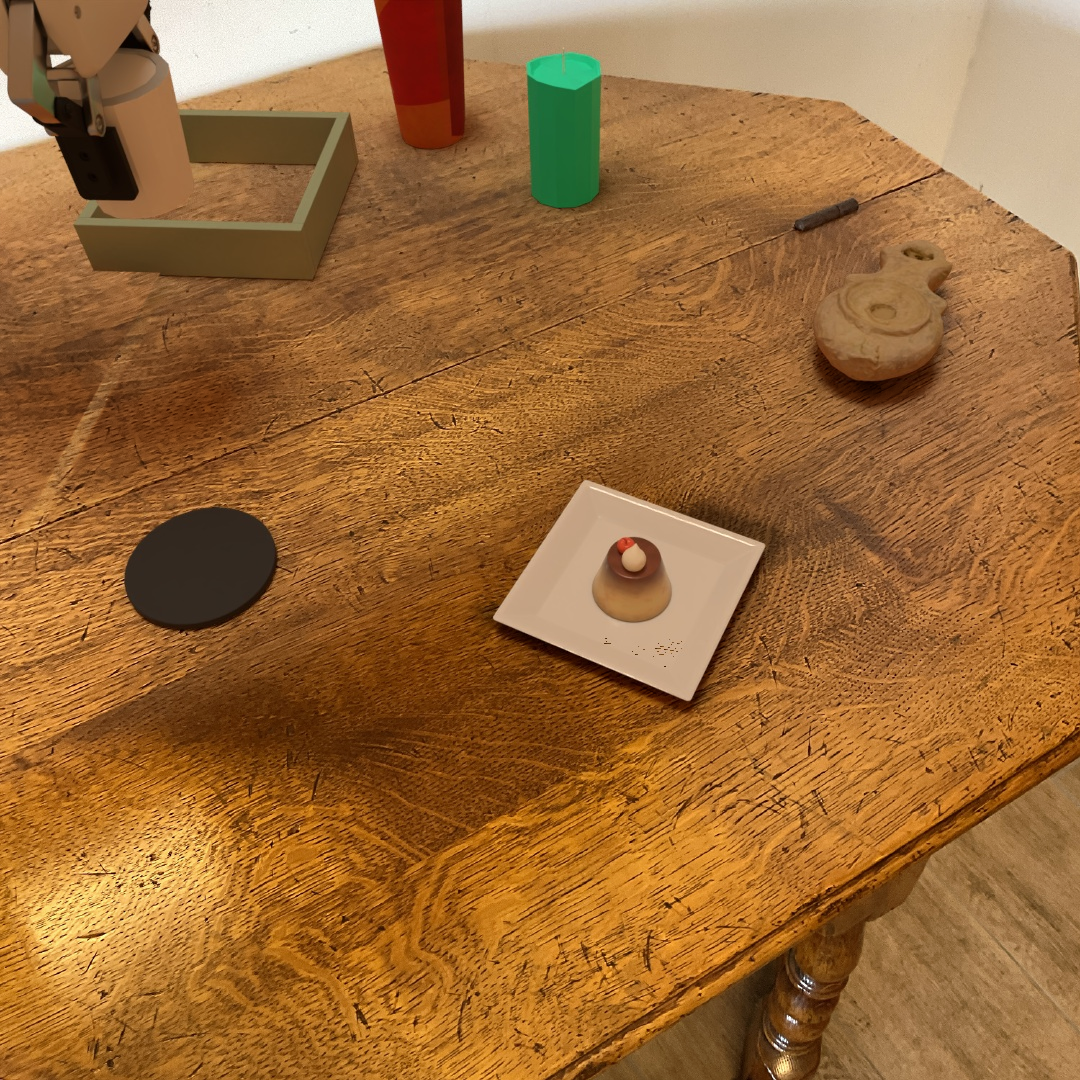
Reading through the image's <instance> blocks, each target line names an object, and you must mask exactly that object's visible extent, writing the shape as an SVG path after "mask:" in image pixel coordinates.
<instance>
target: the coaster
mask: <svg viewBox="0 0 1080 1080" xmlns="http://www.w3.org/2000/svg"><path fill="white" fill-rule="evenodd" d="M277 565H278V549H277V546H276V543H275V540H274V537H273V535H272V533H271V531H270V530H269V529H268V527H267V525H265V524H264V523H263V522H262V521H261V520H260V519H259V518H256V516H255V515H252V514H250V513H248V512H245V511H242V510H241V509H235V508H229V507H217V506H216V507H215V506H214V507H204V508H199V509H193V510H190V511H187V512H183V513H180V514H177V515H176V516H174V517H171V518H169V519H167V520H165V521H164V522H162V523H160V524H159V525H158V526H156V527H155V528H152V530H150V532H149V533H147V534H146V535H145V536H144V537H143V538H142V539H141V540H140V542H139V543H137V545H136V546H135V548H134V549H133V551H132V552H131V555H130V556H129V557H128V560H127V563H126V565H125V570H124V576H123V577H124V578H123V579H124V581H123V584H124V589H125V593H126V596H127V598H128V600H129V602H130V603H131V605H132V607H133V608H134V609H135V611H136V612H137V613H138V614H139V615H140V616H141V617H142V618H144V619H145V620H146V621H149V622H150V623H152V624H154V625H157V626H159V627H164V628H167V629H172V630H180V631H181V630H183V631H184V630H185V631H187V630H191V631H192V630H199V629H205V628H209V627H212V626H216V625H219V624H222V623H224V622H226V621H227V622H228V621H229V620H231V619H233V618H235V617H237V616H239V615H241V614H242V613H243V612H245V611H247V609H249V608H250V607H251V606H252V605H254V604H255V603H256V602H257V601H258V600H259V599H260V598H261V597H262V596H263V595H264V593H265V592H266V590H267V589H268V588H269V586H270V585H271V582H272V580H273V578H274V575H275V573H276V570H277Z"/></svg>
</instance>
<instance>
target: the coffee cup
mask: <svg viewBox="0 0 1080 1080" xmlns="http://www.w3.org/2000/svg"><path fill="white" fill-rule="evenodd" d="M373 4H374V9H375V14H376V19H377V23H378V29H379V34H380V38H381V44H382V50H383V54H384V60H385V64H386V68H387V73H388V79H389V83H390V89H391V94H392V98H393V103H394V108H395V113H396V117H397V123H398V127H399V130H400V135H401V138H402V140H403V141H404V142H405V143H406V144H408V145H410V146H412V147H414V148H417V149H425V150H435V149H442V148H446V147H450V146H452V145H454V144H456V143H457V142H459V141H460V140H461V139H462V138H463V137H464V135H465V132H466V98H465V97H466V96H465V95H466V94H465V93H466V91H465V90H466V89H465V58H464V57H465V55H464V52H465V51H464V23H463V19H464V18H463V0H373Z"/></svg>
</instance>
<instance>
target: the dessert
mask: <svg viewBox="0 0 1080 1080" xmlns="http://www.w3.org/2000/svg"><path fill="white" fill-rule="evenodd" d="M765 548H766V544H765V543H764V542H761V541H758V540H755V539H753V538H750V537H748V536H744V535H742V534H738V533H737V532H734V531H730V530H727V529H725V528H722V527H719V526H717V525H714V524H711V523H709V522H705V521H703V520H699V519H697V518H694V517H692V516H689V515H687V514H683V513H680V512H677V511H674V510H672V509H670V508H666V507H664V506H660V505H658V504H655V503H653V502H650V501H647V500H644V499H641V498H639V497H636V496H633V495H631V494H627V493H626V492H625V493H624V492H621V491H619V490H616V489H614V488H611V487H608V486H606V485H602V484H600V483H597V482H594V481H591V480H589V479H584V480H583V481H582V482H581V484H580V486H579V487H578V488H577V490H576V491H575V493H574V495H572V498H571V499H570V500H569V502H568V504H567V505H566V506H565V508H564V509H563V511H562V512H561V514H560V515H559V516H558V518H557V520H556V521H555V523H554V524H553V526H552V527H551V529H550V530H549V532H548V534H547V535H546V536H545V538H544V539H543V541H542V542H541V544H540V545H539V547H538V548H537V550H536V552H534V554H533V556H532V557H531V559H530V560H529V562H528V564H527V565H526V566H525V568H524V569H523V571H522V572H521V574H520V576H519V577H518V578H517V580H516V582H515V583H514V585H513V586H512V587H511V588H510V590H509V592H508V594H507V595H506V597H505V598H504V600H503V601H502V603H500V606H499V607H498V609H497V610H496V612H495V613H494V615H493V616H492V619H493V620H494V621H496V622H498V623H501V624H503V625H505V626H508V627H510V628H513V629H515V630H517V631H519V632H522V633H525V634H527V635H529V636H532V637H534V638H536V639H539V640H541V641H543V642H545V643H548V644H550V645H553V646H556V647H558V648H559V649H563V650H565V651H568V652H570V653H572V654H574V655H576V656H580V657H582V658H584V659H586V660H588V661H591V662H594V663H596V664H597V665H601V666H603V667H605V668H608V669H610V670H613V671H615V672H617V673H619V674H622V675H624V676H626V677H629V678H631V679H634V680H636V681H639V682H641V683H643V684H646V685H648V686H651V687H653V688H655V689H657V690H659V691H662V692H664V693H667V694H669V695H672V696H674V697H676V698H679V699H682V700H684V701H686V702H690V701H691V700H692V699H693V696H694V694H695V692H696V690H697V688H698V687H699V684H700V682H701V680H702V678H703V676H704V674H705V671H706V670H707V668H708V665H709V664H710V662H711V659H712V658H713V655H714V653H715V651H716V649H717V648H718V645H719V643H720V641H721V639H722V636H723V635H724V632H725V631H726V628H727V626H728V624H729V623H730V620H731V618H732V616H733V614H734V612H735V609H736V608H737V606H738V604H739V602H740V599H741V597H742V595H743V593H744V591H745V589H746V587H747V585H748V583H749V581H750V579H751V577H752V576H753V575H752V574H753V572H754V570H755V569H756V566H757V564H758V563H759V561H760V559H761V557H762V554H763V552H764V550H765ZM605 638H607V639H605ZM669 639H670V640H669ZM606 641H607V642H606ZM681 641H682V642H681ZM672 642H674V643H672ZM604 643H611V644H604ZM658 643H659V644H658ZM677 643H680V644H677ZM671 644H672V645H671ZM638 646H639V647H638ZM660 646H664V647H660ZM668 647H670V648H668ZM655 648H661V649H655ZM675 648H676V649H675ZM681 648H682V649H681ZM643 649H645V650H643ZM664 649H668V650H664ZM670 650H674V651H670ZM632 651H633V652H632ZM657 651H659V652H657ZM676 651H678V652H676ZM665 652H666V653H665ZM671 653H672V654H671ZM635 654H638V655H635ZM659 654H664V655H659ZM653 656H654V657H653ZM673 656H674V657H673ZM664 666H666V667H664Z"/></svg>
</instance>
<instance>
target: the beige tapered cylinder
mask: <svg viewBox="0 0 1080 1080" xmlns="http://www.w3.org/2000/svg"><path fill="white" fill-rule="evenodd" d="M54 67H75V66H74V63H73V61H72V59H71V58H68V59H67V60H65V61H62V62H61V63H59V64H56V65H54ZM98 76H99V82H100V89H101V95H102V102H103V108H104V115H105V121H106V126H109V127H116V130H117V132H118V135H119V138H120V141H121V143H122V146H123V149H124V151H125V154H126V157H127V159H128V162H129V165H130V167H131V170H132V173H133V176H134V178H135V181H136V184H137V186H138V189H139V193H138V195H137V197H136V199H135V200H133V201H110V200H96V202H97V204H98V205H99V207H100V208H101V209H102V211H103V212H104V213H106V214H108V215H111V216H113V217H115V218H121V219H132V220H136V219H152V218H156V217H158V216H161V215H164V214H166V213H169V212H173V211H175V210H176V209H177V208H178V207H180V206H182V205H183V204H185V203H186V202H187V201H188V200H189V199H190V198H191V196H192V195H193V193H194V192H195V191H194V190H195V179H194V175H193V170H192V166H191V162H190V161H189V156H188V152H187V147H186V142H185V138H184V133H183V129H182V124H181V119H180V115H179V110H178V109H179V106H178V101H177V96H176V91H175V86H174V83H173V79H172V74H171V69H170V64H169V63H168V62H167V61H166V59H164V58H163V57H162V56H161V54H159V55H158V54H155V53H152V52H149V51H146V50H143V49H130V48H118V49H117V51H116V52H115V53H114V54H113V56H112V57H111V58H110V59H109V61H108V62H107V63H106V64H105V65H104V67H103V68H102V69H101V70H100V71H99V72H98ZM58 87H59V93H60V97H67V98H69V99H70V100H72V101H73V102H75V103H77V104H78V105H80V106H81V107H82V102H81V96H80V90H79V84H78V81H58Z"/></svg>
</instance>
